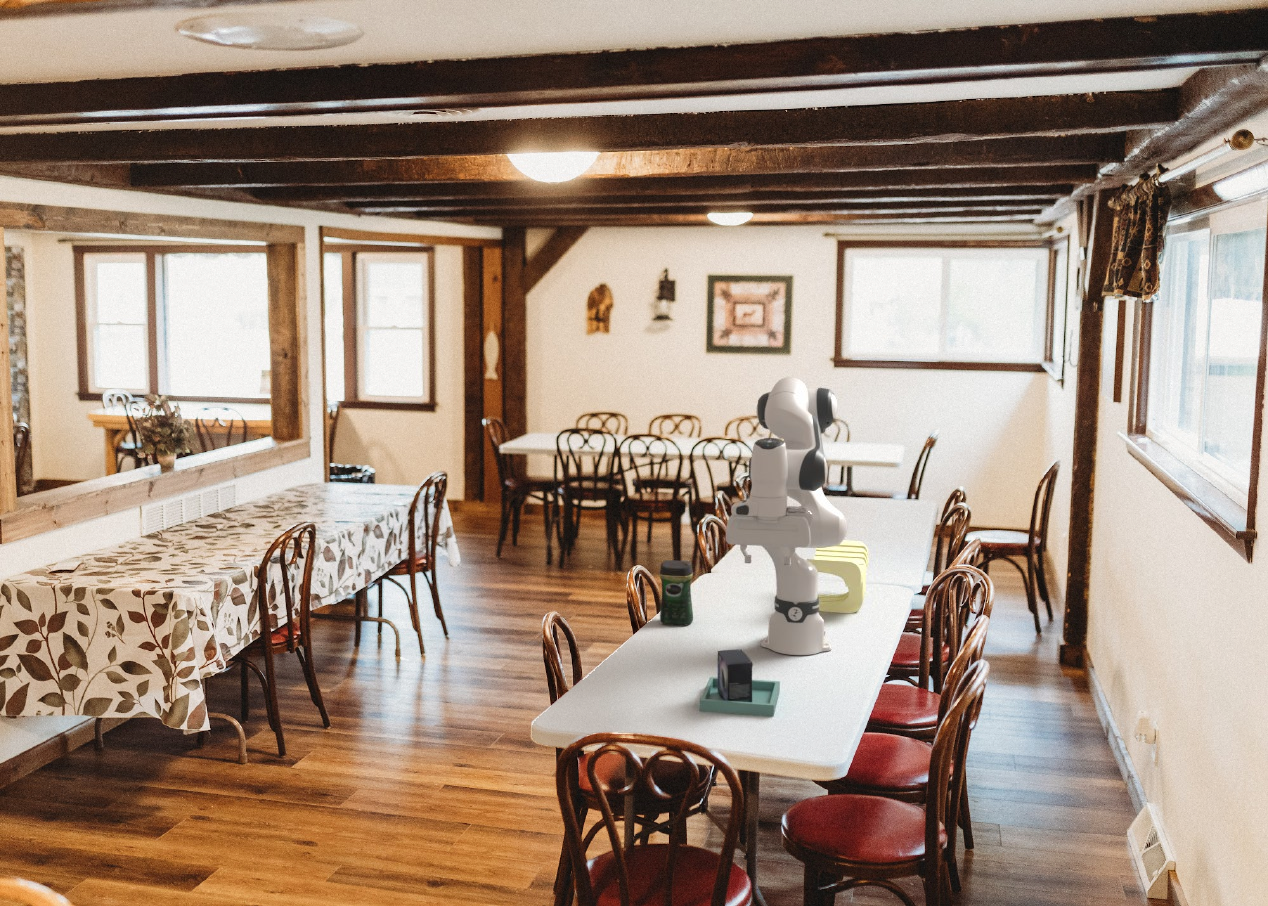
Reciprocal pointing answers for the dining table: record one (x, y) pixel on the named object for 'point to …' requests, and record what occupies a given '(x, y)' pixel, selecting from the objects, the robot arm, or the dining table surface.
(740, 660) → the small box
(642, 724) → the dining table surface
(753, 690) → the teal tray
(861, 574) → the slatted curved stool
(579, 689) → the dining table surface
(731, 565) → the dining table surface
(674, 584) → the coffee jar
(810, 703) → the dining table surface
